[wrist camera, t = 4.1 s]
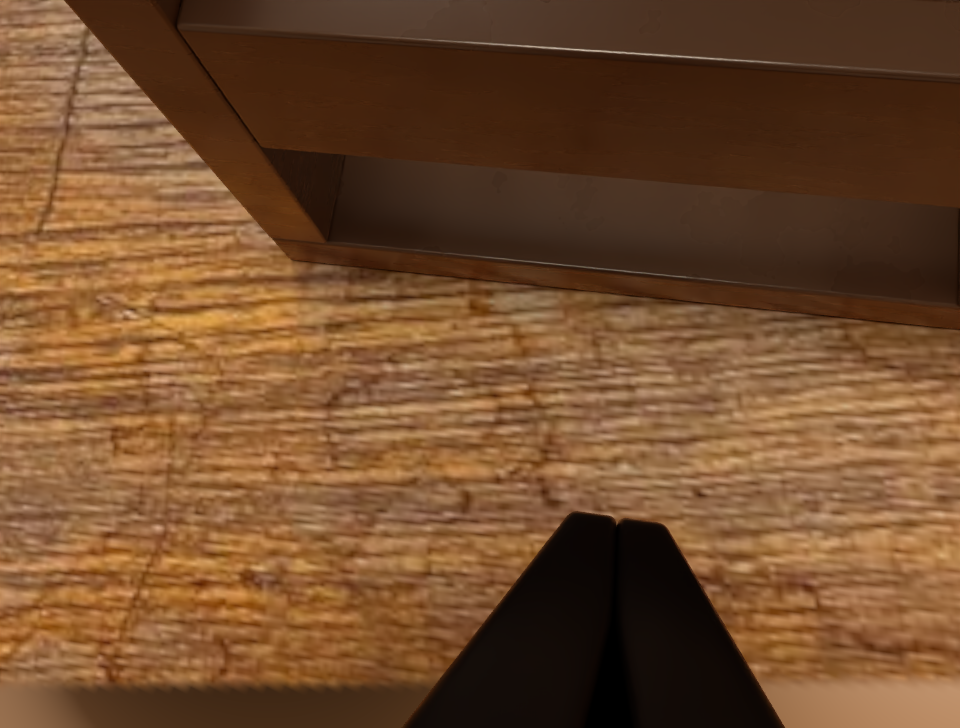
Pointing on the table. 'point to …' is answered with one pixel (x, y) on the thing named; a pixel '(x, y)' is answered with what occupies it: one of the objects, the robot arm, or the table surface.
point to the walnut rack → (583, 139)
